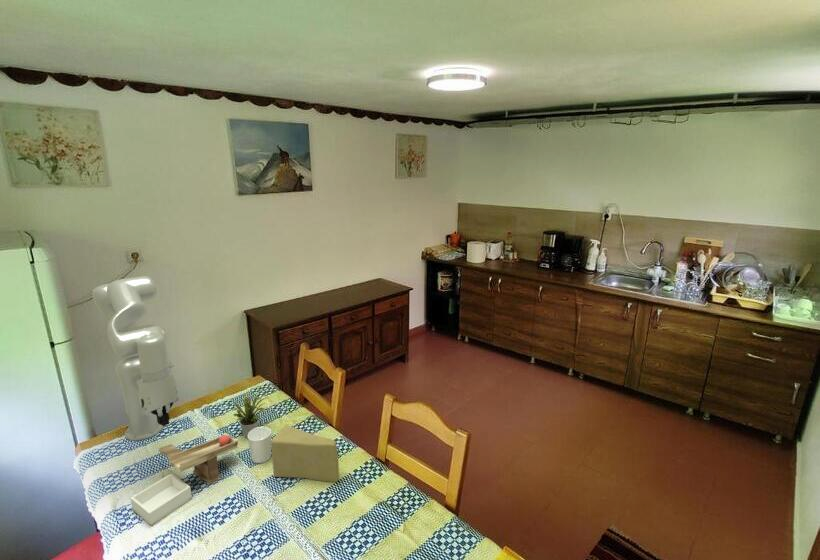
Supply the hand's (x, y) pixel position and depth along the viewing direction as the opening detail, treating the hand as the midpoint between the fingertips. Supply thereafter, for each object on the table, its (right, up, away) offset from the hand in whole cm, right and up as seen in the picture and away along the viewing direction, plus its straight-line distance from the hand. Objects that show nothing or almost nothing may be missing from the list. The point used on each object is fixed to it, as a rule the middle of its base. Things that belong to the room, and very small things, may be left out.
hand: (164, 423), depth 132 cm
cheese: (+45, -20, +8) cm, 50 cm away
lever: (+7, -13, +6) cm, 16 cm away
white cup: (+26, -18, +15) cm, 35 cm away
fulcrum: (+11, -20, +6) cm, 23 cm away
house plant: (+19, -14, +28) cm, 36 cm away
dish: (+3, -23, -6) cm, 24 cm away
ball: (+15, -9, +10) cm, 20 cm away
